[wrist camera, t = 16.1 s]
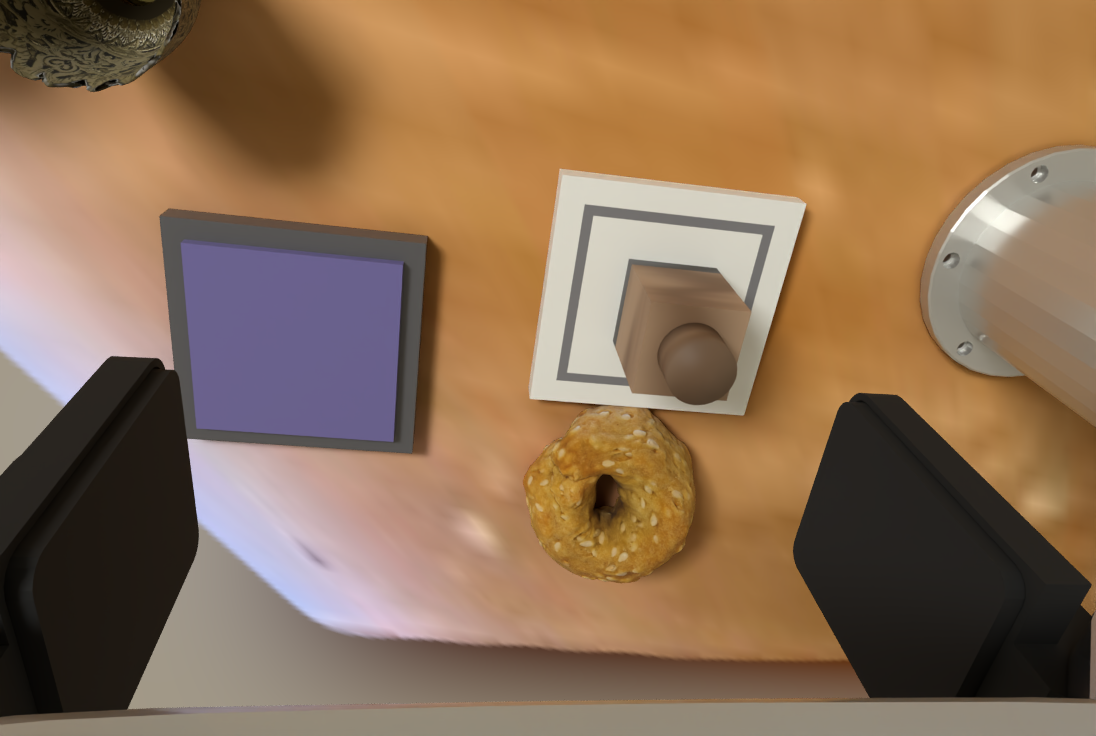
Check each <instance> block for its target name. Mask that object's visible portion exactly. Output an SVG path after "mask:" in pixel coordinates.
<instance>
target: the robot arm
mask: <svg viewBox="0 0 1096 736" xmlns="http://www.w3.org/2000/svg"><path fill="white" fill-rule="evenodd" d="M920 303H921V309H922V315H923V320H924V322H925V324H926V327H927V329H928V331H929V333H930V336H931V337H932V338H933V339H934V341H935V342H936V343H937V344H938V346H939V347H940V348H941V349H942V350H943V351H944V352H945V353H946V354H948V355H949V356H950V357H951V358H952V359H953V360H955V361H956V362H958V363H960V364H961V365H963V366H965V367H966V368H968V369H970V370H972V371H976V372H979V373H982V374H986V375H990V376H1001V377H1015V376H1027V377H1028V378H1029V379H1031V380H1032V381H1033V382H1035V383H1036V384H1037V385H1039V386H1040V387H1042V388H1043V389H1044V390H1046V391H1047V392H1048V393H1050V394H1051V395H1052V396H1054V397H1055V398H1056V399H1058V400H1059V401H1060V402H1062V403H1063V404H1065V405H1066V406H1067V407H1069V408H1070V409H1071V410H1073V411H1074V412H1075V413H1077V414H1078V415H1079V416H1081V417H1082V418H1083V419H1085V420H1086V421H1087V422H1089V423H1090V424H1092V425H1093V426H1094V427H1096V147H1094V146H1087V145H1068V146H1056V147H1052V148H1048V149H1045V150H1041V151H1037V152H1033V153H1031V154H1029V155H1026V156H1024V157H1022V158H1020V159H1017V160H1015V161H1013V162H1011V163H1009V164H1007V165H1006V166H1004V167H1002V168H1001V169H999V170H998V171H996V172H995V173H993V174H992V175H990V176H989V177H987V178H986V179H984V180H983V181H982V182H981V183H980V184H979V185H978V186H976V187H975V188H974V189H973V190H972V191H971V192H970V193H968V194H967V195H966V196H965V197H964V199H963V200H962V201H961V202H960V203H959V204H958V206H957V207H956V208H955V209H954V210H953V211H952V213H951V214H950V215H949V216H948V218H947V219H946V221H945V223H944V224H943V226H942V227H941V229H940V230H939V232H938V234H937V235H936V237H935V239H934V241H933V244H932V246H931V248H930V251H929V253H928V255H927V258H926V261H925V265H924V269H923V274H922V278H921V289H920ZM198 532H199V530H198V521H197V513H196V506H195V498H194V490H193V482H192V474H191V466H190V458H189V450H188V442H187V434H186V427H185V419H184V411H183V403H182V395H181V387H180V380H179V376H178V374H177V372H176V371H175V370H165V367H164V365H163V363H162V361H161V360H160V359H158V358H138V357H118V356H111V357H109V358H108V359H107V360H106V361H105V362H104V363H103V364H102V365H101V366H100V367H99V369H98V370H97V371H96V372H95V373H94V374H93V375H92V376H91V378H90V379H89V380H88V381H87V382H86V383H85V384H84V385H83V386H82V388H81V389H80V390H79V391H78V392H77V393H76V394H75V395H74V397H73V398H72V399H71V400H70V401H69V402H68V403H67V404H66V406H65V407H64V408H63V409H62V410H61V411H60V412H59V413H58V414H57V416H56V417H55V418H54V419H53V420H52V421H51V422H50V424H49V425H48V426H47V427H46V428H45V429H44V430H43V431H42V432H41V434H40V435H39V436H38V437H37V438H36V439H35V440H34V441H33V442H32V444H31V445H30V446H29V447H28V448H27V449H26V450H25V451H24V453H23V454H22V455H21V456H19V457H18V458H17V459H16V460H15V461H13V463H12V464H11V465H10V466H9V467H8V468H7V469H6V470H5V471H4V472H3V474H2V475H1V476H0V736H1096V611H1095V612H1094V613H1093V615H1092V616H1091V615H1090V614H1089V613H1088V612H1087V611H1086V610H1085V609H1084V608H1083V607H1082V606H1081V605H1080V604H1081V603H1082V601H1083V599H1084V598H1085V596H1086V594H1087V592H1088V591H1089V589H1090V587H1091V585H1092V584H1091V583H1090V582H1089V581H1088V580H1087V579H1086V578H1085V577H1084V576H1083V575H1082V574H1081V573H1080V572H1079V571H1077V570H1076V569H1075V568H1074V567H1073V566H1072V565H1071V564H1070V563H1069V562H1068V561H1067V560H1066V559H1065V558H1064V557H1063V556H1062V555H1061V554H1060V553H1059V552H1058V551H1057V550H1056V549H1055V548H1054V547H1053V546H1052V545H1051V544H1050V543H1049V542H1048V541H1047V540H1046V539H1045V538H1044V537H1043V536H1042V535H1041V534H1040V533H1039V532H1038V531H1037V530H1036V529H1035V528H1034V527H1033V526H1032V525H1031V524H1030V523H1029V522H1028V521H1027V520H1025V519H1024V518H1023V517H1022V516H1021V515H1020V514H1019V513H1018V512H1017V511H1016V510H1015V509H1014V508H1013V507H1012V506H1011V505H1010V504H1009V503H1008V502H1007V501H1006V500H1005V499H1004V498H1003V497H1002V496H1001V495H1000V494H999V493H998V492H997V491H996V490H995V489H994V488H993V487H992V486H991V485H990V484H989V483H988V482H987V481H986V480H985V479H984V478H983V477H982V476H981V475H980V474H979V473H978V472H977V471H976V470H975V469H973V468H972V467H971V466H970V465H969V464H968V463H967V462H966V461H965V460H964V459H963V458H962V457H961V456H960V455H959V454H958V453H957V452H956V451H955V450H954V449H953V448H952V447H951V446H950V445H949V444H948V443H947V442H946V441H945V440H944V439H943V438H942V437H941V436H940V435H939V434H938V433H937V432H936V431H935V430H934V429H933V428H932V427H931V426H930V425H929V424H928V423H927V422H926V421H925V420H924V419H922V418H921V417H920V416H919V415H918V414H917V413H916V412H915V411H914V410H913V409H912V408H911V407H910V406H909V405H908V404H907V403H906V402H905V401H904V400H903V399H902V398H901V397H899V396H898V395H889V394H869V393H858V394H856V395H854V396H853V397H852V398H851V400H850V401H849V402H845V403H843V404H842V405H841V406H840V407H839V410H838V412H837V415H836V418H835V421H834V424H833V427H832V430H831V433H830V436H829V439H828V442H827V445H826V448H825V451H824V454H823V457H822V460H821V463H820V466H819V469H818V472H817V475H816V478H815V481H814V484H813V487H812V490H811V493H810V496H809V499H808V502H807V505H806V508H805V511H804V514H803V517H802V520H801V523H800V526H799V529H798V532H797V535H796V538H795V541H794V547H793V554H794V560H795V564H796V566H797V569H798V570H799V572H800V574H801V576H802V577H803V579H804V581H805V583H806V585H807V586H808V588H809V590H810V592H811V594H812V595H813V597H814V599H815V601H816V603H817V604H818V606H819V608H820V610H821V611H822V613H823V615H824V617H825V619H826V620H827V622H828V624H829V626H830V628H831V629H832V631H833V633H834V635H835V636H836V638H837V640H838V642H839V644H840V645H841V647H842V649H843V651H844V653H845V654H846V656H847V658H848V660H849V661H850V663H851V665H852V667H853V669H854V670H855V672H856V674H857V676H858V678H859V679H860V681H861V683H862V685H863V686H864V688H865V690H866V692H867V693H868V695H869V697H870V698H799V699H798V698H796V699H795V698H794V699H793V698H791V699H789V698H787V699H786V698H785V699H686V700H685V699H680V700H679V699H678V700H594V701H519V702H518V701H517V702H456V703H455V702H453V703H399V704H398V703H397V704H341V705H285V706H234V707H187V708H186V707H185V708H149V709H148V708H147V709H128V706H129V704H130V702H131V700H132V698H133V695H134V693H135V691H136V689H137V686H138V684H139V682H140V680H141V677H142V675H143V673H144V671H145V669H146V666H147V664H148V662H149V660H150V657H151V655H152V653H153V651H154V648H155V646H156V644H157V642H158V639H159V637H160V635H161V633H162V630H163V628H164V626H165V624H166V621H167V619H168V617H169V615H170V612H171V610H172V608H173V606H174V603H175V601H176V599H177V597H178V594H179V592H180V590H181V588H182V585H183V583H184V581H185V579H186V576H187V574H188V572H189V570H190V568H191V565H192V563H193V561H194V558H195V556H196V552H197V547H198V538H199V533H198ZM127 709H128V710H127Z"/></svg>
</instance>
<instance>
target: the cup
mask: <svg viewBox="0 0 1096 736" xmlns="http://www.w3.org/2000/svg"><path fill="white" fill-rule="evenodd" d="M200 2H201V0H0V52H4V53H10V54H11V55H12V56H11V68H12V69H13V70H14V71H15V72H16V73H17V74H19V75H20V76H22V77H25V78H28V79H31V80H40V79H42V82H44V83H45V85H46V86H48V87H72V88H78V87H81V86H87V90H89V91H90V92H97V91H101V90H104V89H106V88H108V87H111V86H115V85H125V84H128V83H130V82H132V81H134V80H136V79H137V78H138V77H140V76H141V75H142V74H144V73H145V72H146V71H147V70H149V69H150V68H152V67H153V66H154V65H156V64H157V63H158V62H160V61H161V60H162V59H164V58H165V57H166V56H168V55H169V54H170V53H171V52H173V51H174V50H175V49H176V48H177V47H178V46H179V45H180V44H181V43H182V41H183V40H184V39H185V37H186V36H187V35H188V33H189V32H190V30H191V28H192V27H193V25H194V23H195V20H196V17H197V15H198V11H199V7H200Z"/></svg>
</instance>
